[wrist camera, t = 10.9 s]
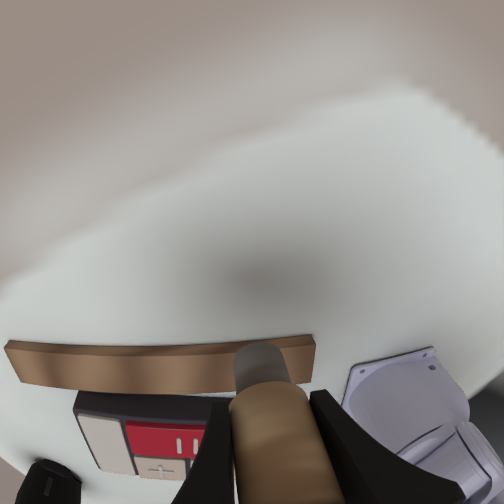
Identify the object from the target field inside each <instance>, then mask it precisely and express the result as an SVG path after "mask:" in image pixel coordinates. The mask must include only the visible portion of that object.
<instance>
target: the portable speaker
mask: <svg viewBox="0 0 504 504" xmlns="http://www.w3.org/2000/svg"><path fill="white" fill-rule="evenodd" d="M81 485H82V482H80V481H76V480H75V479H74V478H73V477H72V475H71V472H70V470H68V469H67V468H66V467H64V466H62V465H60V464H57V463H55V462H53V461H50V460H46V459H45V460H43V461H42V462H40V463H33V464H32V465H31V467H30V469H29V471H28V473H27V475H26V477H25V479H24V481H23V483H22V485H21V487H20V489H19V491H18V494H17V497H16V501H15V504H81Z"/></svg>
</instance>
